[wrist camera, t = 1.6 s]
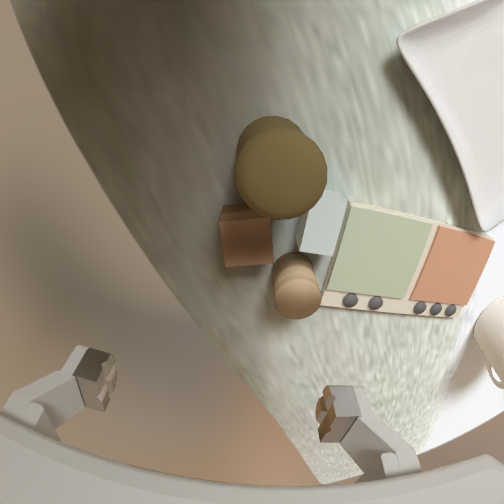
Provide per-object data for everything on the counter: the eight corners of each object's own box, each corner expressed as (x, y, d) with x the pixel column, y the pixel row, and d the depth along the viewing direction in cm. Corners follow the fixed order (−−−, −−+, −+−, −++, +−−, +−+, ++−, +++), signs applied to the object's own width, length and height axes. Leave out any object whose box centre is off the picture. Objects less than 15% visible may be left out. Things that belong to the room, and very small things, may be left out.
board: (348, 199, 27) (352, 204, 26) (489, 235, 28) (495, 240, 27) (318, 300, 32) (320, 307, 31) (454, 314, 33) (458, 319, 32)
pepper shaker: (271, 101, 24) (281, 97, 14) (322, 150, 25) (363, 180, 16) (222, 153, 26) (199, 184, 16) (274, 199, 27) (284, 256, 18)
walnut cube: (223, 206, 28) (218, 222, 24) (268, 201, 28) (270, 217, 24) (229, 246, 30) (225, 267, 26) (271, 242, 29) (273, 263, 26)
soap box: (306, 185, 27) (312, 194, 24) (338, 191, 27) (347, 201, 24) (295, 237, 29) (299, 251, 26) (325, 242, 29) (332, 256, 27)
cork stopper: (276, 249, 30) (279, 277, 25) (317, 256, 30) (327, 283, 25) (268, 285, 31) (270, 316, 27) (307, 290, 32) (314, 321, 27)
